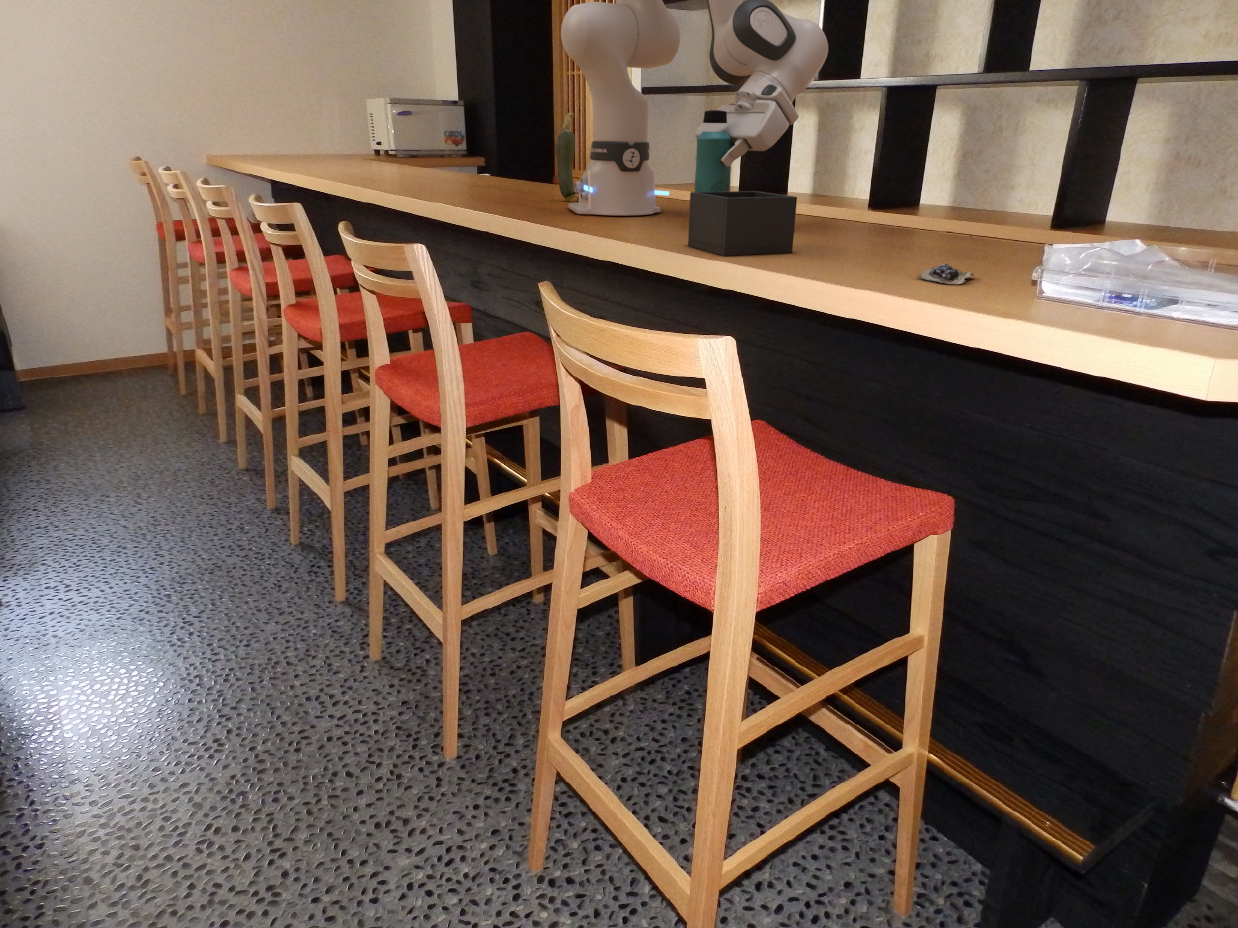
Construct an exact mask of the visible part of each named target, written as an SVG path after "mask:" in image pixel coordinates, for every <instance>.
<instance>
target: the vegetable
mask: <svg viewBox="0 0 1238 928" xmlns="http://www.w3.org/2000/svg"><path fill="white" fill-rule="evenodd" d="M574 118H575V114H574V113H572V111H570V112H568V114H566V115H565V117H564V120H563V123H562V127H561V128H562V130H561V131H560V132H559V133H558V136H557V141H556V156H557V157H556V158H557V159H556V163H557V165H556V166H557V179H558V181H557V182H558V186H559V192H560V194H561V196H562V197H563V198H564V200H565V201H566V202H571V200H573V199H574V198H573V197H574V195H573V193H574V178H573V161H574V157H575V149H576V136H575V134H574V132H573V131H572V130H571V126H572V120H574Z"/></svg>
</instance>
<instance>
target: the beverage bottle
mask: <svg viewBox="0 0 1238 928" xmlns="http://www.w3.org/2000/svg"><path fill="white" fill-rule="evenodd" d="M702 123H727V112H726V111H721V110H716V109H709V110H705V111H704V114H703V119H702ZM731 148H732V138H731V137H730V135H729V134H728V132H706V131H703V132H702V133H701V134H700V135H699V136H698V137H697V138H696V155H695V156H696V160H695V173H694V177H693V178H694V192H731V190H732V189H731V188H732V187H731V183H732V180H731V179H732V178H731V175H732V174H731V173H732V164H731V165H730V166H729V167H728V166H722V164H721V163H720V162H719V158H720V157H721V156H722V154H723V153H724V152H728V151H729V150H730V149H731Z"/></svg>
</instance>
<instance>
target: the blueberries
mask: <svg viewBox="0 0 1238 928" xmlns="http://www.w3.org/2000/svg"><path fill="white" fill-rule="evenodd" d="M920 276H921V277H920V279H921V280H922V279H923V280H925V281H932V282H938V283H941V284H944V285H960V284H964V282H967V280H965V279H969V278H970V277H973V276H975V274H974V273H973V272H969V271H966V272H964V271H963V270H959V268H956V267H952V265H950V264H948V263H943V264H940V265H939V266H938V265H935V266H933V267H931V268H929V269H924V270H923V271H922V272H921V273H920Z"/></svg>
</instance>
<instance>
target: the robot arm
mask: <svg viewBox="0 0 1238 928" xmlns="http://www.w3.org/2000/svg"><path fill="white" fill-rule="evenodd" d="M706 5H707V9H708V15H709V20H710V26H711V27H710V28H711V41H710V47H709V64H710V67H711V69H712V70H713V72H714V74H715V75H716V76H717V77H718V78H719V79H720V80H721V81H722V82H724V83H726V84H728V85H733V86H741V87H740V88H739V89H738V90H737V91H736V93H735V96H734V100H735V101H734V102H735V103H729V104H724V105H720V106H719V107H717V108H716V109H715V110H721V111H726V112H727V123H703V122H702V123H701V124H700V125H699V126H698V127H697V128H696V130H695V133H694V137H695V138H696V139H697V137H698V136H699V135H700V134H701V133H702V132H703V131H706V132H728V134H729V135H730V137H731V138H732V148H731V149H730V150H729V151H728V152H724V153H723V154H722V156H721V157H720V158H719V162H720V163H721V164H722V166H728V167H729V166H730V165H731V166H732V165H733V163H734V162H735V161H736V160H737V159H739V158H740V157H742V156H743V155H745V154H746V153H747V152H748V151H755V152H765V151H767V150H768V149H770V148H772V147H773V146H774V145H775V144H776V143H777V142H778V140H779V139H781V137H782V136H783V135H784V134H785V132H786V131H788V129H789V126H792V125H793V124H795V123H796V121H798V119H799V118H800V117H799V114H798V111H797V110H796V108H795V105H793V102H794V100H795V98H796V97H797V96H799V95H800V94H801V93H803V92H804V91H805V90H806V89H807V88H808V86H809V85H811V83H812V81H813V80H814V79H815V78H816V76H817V75H818V73H819V72H820V71H821V69H822V68H823V66H824V64H825V63H826V60H827V57H828V53H829V43H828V39H827V36H826V34H825V32H824V31H823V29H822V27H820V26H819V24H818V23H816V22H815V21H813V20H811V19H807V18H804V19H803V18H802V19H801V18H797V17H794V16H791V15H790V14H787V13H785V12H784V11H782V10H781V9H779V8H778V6H777V5H775V4H774V2H772V1H770V0H744V1H743V0H706ZM560 38H561V43H562V47H563V49H564V51H565V53H566V55H567V56H568V57H569V58H570V59H571V60H572V61H573V62H574V63H575V64H576V66H577V67H578V68H579V70H580V71H581V73H582V75H583V76H584V80H585V81H586V83H587V86H588V89H589V93H590V96H591V103H592V117H593V119H592V120H593V121H592V122H593V140H592V141H591V144H590V145H591V146H590V148H589V149H590V150H589V159H590V161H589V163H588V165H587V167H586V169H585V170H584V172H583V174H582V176H581V178H580V179H579V180H576V181H574V182H573V188H574V193H573V196H575V195H578V196H577V197H576V200H577V201H578V202H571V203H570V202H569V203H568V204H567V205H568V206H567V208H568V209H569V210H570V211H572V212H574V213H575V214H577V215H596V216H597V215H598V216H646V215H652V214H656V213H661V212H662V211H661V207H660V206H656V196H670V191H669V190H668V191H667V190H658V189H657V190H656V184H655V183H656V182H655V181H656V180H655V172H654V170H653V169H652V168H651V167H650V165H649V162H648V161H649V160H650V153H651V149H650V143H649V141H648V133H649V131H648V128H649V104H648V103H649V102H648V100H647V97H645V95H644V94H643V93H642V92H641V91H640V90H638V89H637V88H636V87H635V86H634V84H633V83H632V81H631V79H630V75H629V70H628V68H633V69H652V68H657V67H658V68H659V67H661V66H666V65H668V64H670V63H671V62H672V61H674V59H675V57H676V55H677V54H678V52H679V48H680V46H681V29H680V26H679V22H678V21H677V20H676V18H675V16H674V15H673V14H672V13H671V12H670V11H669V9H668V8H667V6H666V5H665V3H664V1H663V0H615V3H612V2H603V1H589V2H583V3H578V4H574V5H572V6H571V7H570V8H569V9H568V10H567V11H566V13H565V15H564V17H563V19H562V22H561V28H560ZM694 160H695V161H696V155H695V156H694Z"/></svg>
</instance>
